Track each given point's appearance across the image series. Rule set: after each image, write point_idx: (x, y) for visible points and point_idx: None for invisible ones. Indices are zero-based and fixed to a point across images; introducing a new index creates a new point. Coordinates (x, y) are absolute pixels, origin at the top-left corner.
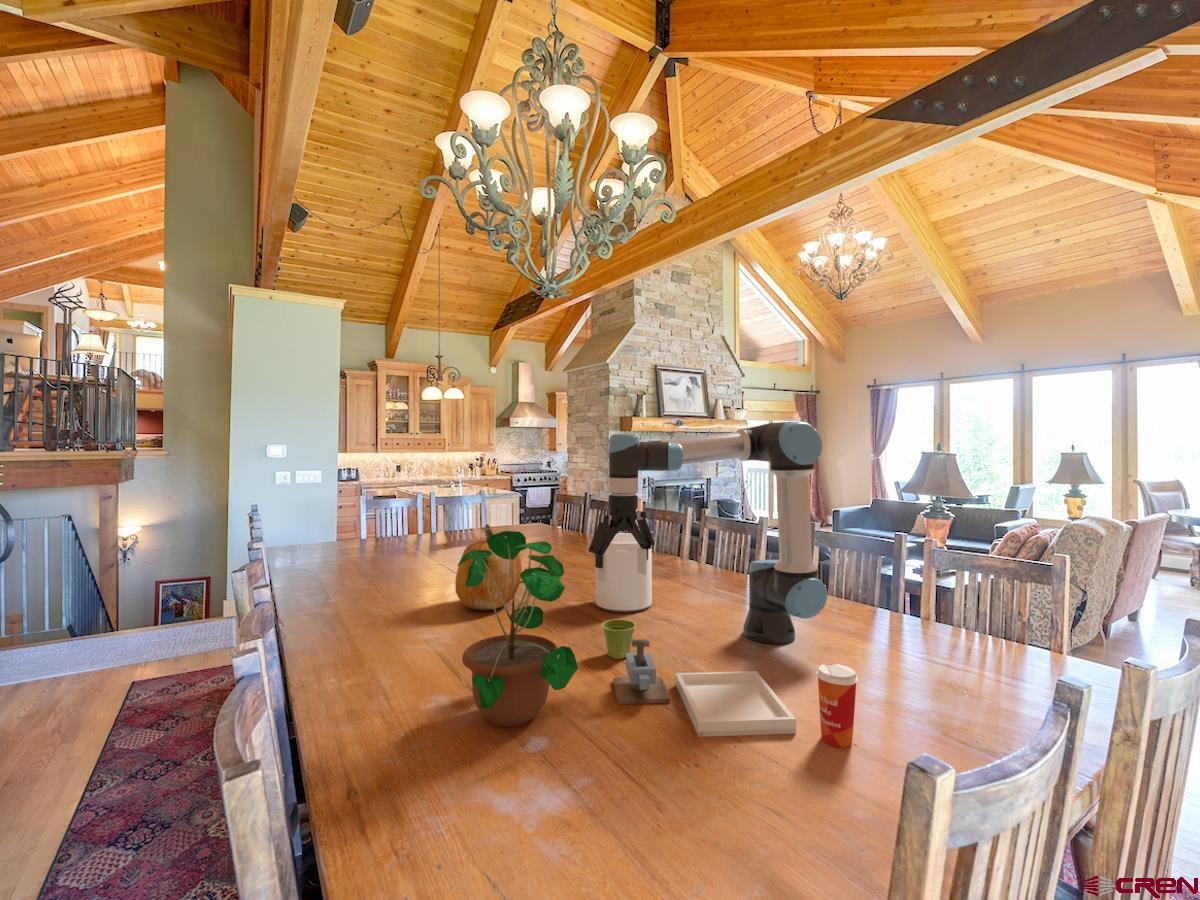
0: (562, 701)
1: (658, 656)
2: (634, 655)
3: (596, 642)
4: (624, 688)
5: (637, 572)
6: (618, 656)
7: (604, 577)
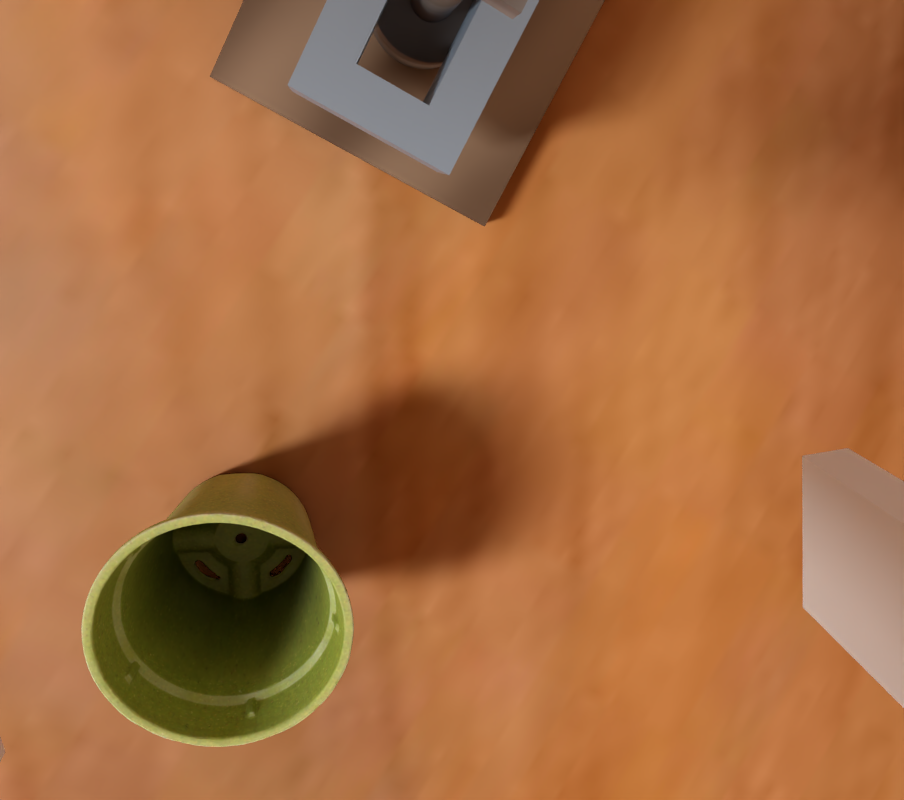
0: (831, 156)
1: (15, 407)
2: (420, 101)
3: (260, 756)
4: (512, 56)
5: (3, 753)
6: (279, 486)
7: (884, 472)
